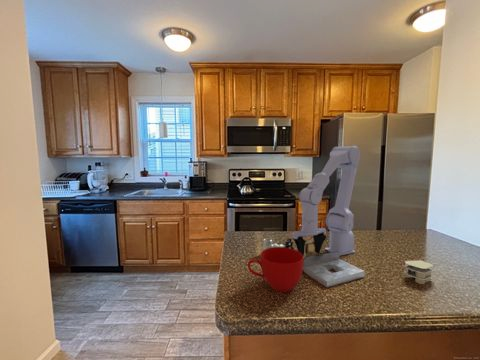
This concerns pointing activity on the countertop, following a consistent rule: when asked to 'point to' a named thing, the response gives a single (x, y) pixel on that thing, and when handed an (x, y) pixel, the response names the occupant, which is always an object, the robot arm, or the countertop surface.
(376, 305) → the countertop surface
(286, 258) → the ceramic cup
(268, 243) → the valve
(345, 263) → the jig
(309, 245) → the brass cylinder
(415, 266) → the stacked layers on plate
